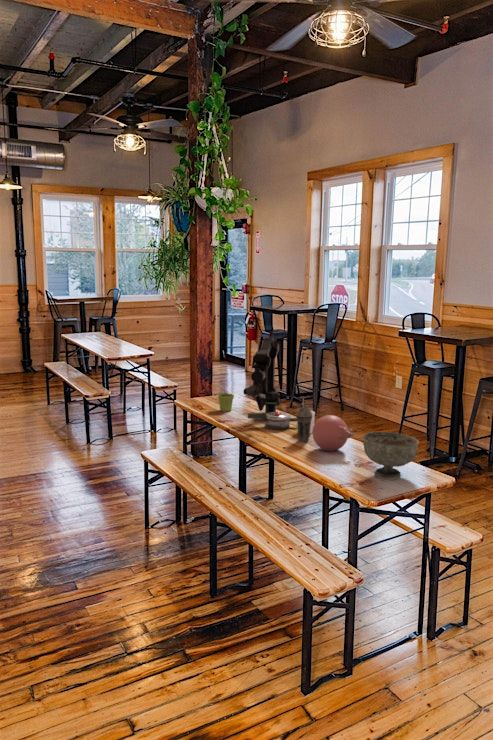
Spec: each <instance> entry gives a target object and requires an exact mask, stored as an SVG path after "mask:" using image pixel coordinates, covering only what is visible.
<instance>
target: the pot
mask: <svg viewBox="0 0 493 740" xmlns="http://www.w3.org/2000/svg"><path fill="white" fill-rule="evenodd" d="M253 420H254V422H265V428H266V429H268V430H273V431H277V430H278V431H284V430H287V429H289V428H290V426H291V425H290V424H291V423H290V422H297V417H291V418H290V419H289V420H284V421H274V420H268V419H266V418H253Z"/></svg>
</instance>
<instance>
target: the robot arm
mask: <svg viewBox="0 0 493 740" xmlns="http://www.w3.org/2000/svg"><path fill="white" fill-rule="evenodd" d="M279 351H280V344H279V342H278V341H276V340H274V338H263V340H262V341H261V347H260V349H259V350H257V351H256V352H255V353H254V354H253V358H252V364H251V369H254V371H253V372H252V373H251V375H250V378H251V381H252V385H250V386H249V387H244V389H243V395H246V396H248V397H251V398H252V399H254V400H255V402H256V404H257V407H258V410H259V412H260V411H261V412H262V411H264V413H270V412H277V406H280V405H281V401H280V393H279V392H278V389H277V388H276V386H275V379H276V377H275V376H276V374H275V372H276V371H275V370H276V369H275V366H276V364H275V363H276V358H277V356H278V354H279ZM264 408H265V410H263V409H264Z"/></svg>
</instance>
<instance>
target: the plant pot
mask: <svg viewBox="0 0 493 740" xmlns="http://www.w3.org/2000/svg"><path fill="white" fill-rule="evenodd" d="M234 398H235V394H233V393H220V394H217V399H218V403H219V411H221V412H224V413H227V412H231V411H232V409H233V408H232V407H233V401H234Z"/></svg>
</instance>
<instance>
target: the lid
mask: <svg viewBox="0 0 493 740" xmlns="http://www.w3.org/2000/svg"><path fill="white" fill-rule="evenodd" d="M246 415H247V419H254V418H266V419H268V420H274V421H284V420H289V419H290V418H292V417H291V416H292V415H291V414H290V413H288V412H283V411H276V412H270V413H265V412H247V414H246Z"/></svg>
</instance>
